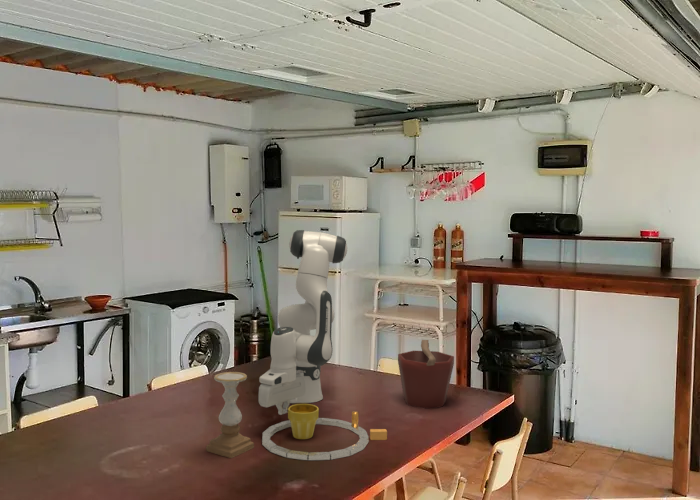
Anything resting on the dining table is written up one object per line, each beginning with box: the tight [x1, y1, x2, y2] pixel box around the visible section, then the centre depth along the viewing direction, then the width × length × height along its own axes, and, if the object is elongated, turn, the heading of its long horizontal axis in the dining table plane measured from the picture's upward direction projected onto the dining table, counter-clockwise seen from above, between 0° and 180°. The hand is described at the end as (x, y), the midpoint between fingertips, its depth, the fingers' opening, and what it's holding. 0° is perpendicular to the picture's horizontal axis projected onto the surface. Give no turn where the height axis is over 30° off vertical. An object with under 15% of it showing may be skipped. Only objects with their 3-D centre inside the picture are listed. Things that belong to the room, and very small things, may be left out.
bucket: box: [397, 339, 455, 409], centre depth 254 cm, size 24×22×25 cm
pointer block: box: [369, 428, 388, 441], centre depth 211 cm, size 6×2×3 cm, turn 95°
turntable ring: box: [261, 410, 370, 461], centre depth 209 cm, size 35×35×6 cm
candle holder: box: [205, 371, 255, 459], centre depth 199 cm, size 11×11×24 cm
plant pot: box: [287, 403, 320, 440], centre depth 212 cm, size 10×10×10 cm
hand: (282, 413), depth 218 cm, fingers closed
